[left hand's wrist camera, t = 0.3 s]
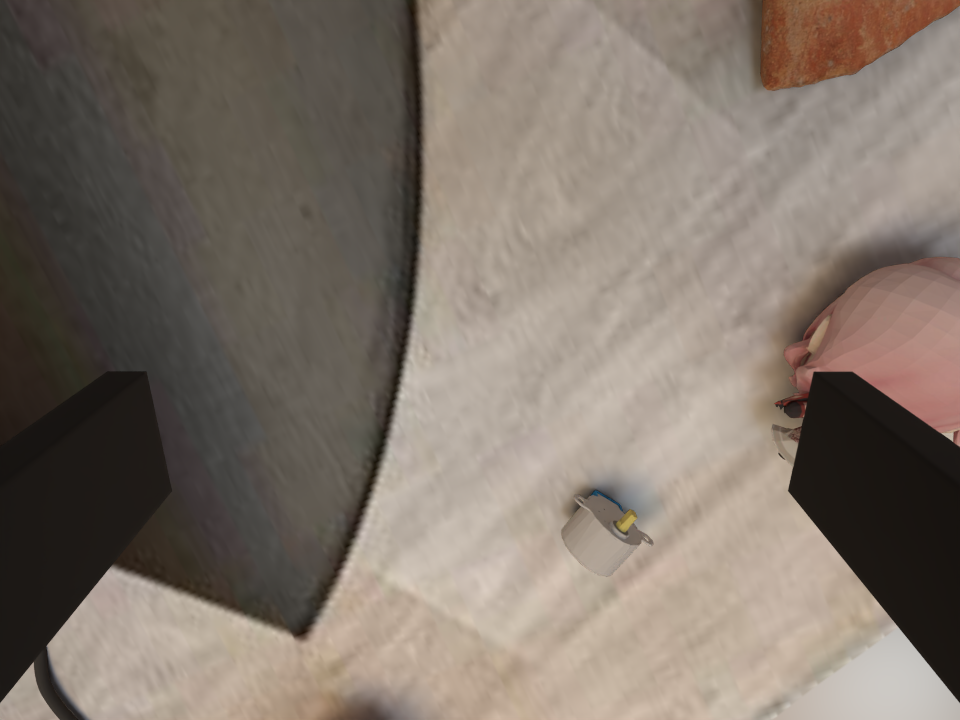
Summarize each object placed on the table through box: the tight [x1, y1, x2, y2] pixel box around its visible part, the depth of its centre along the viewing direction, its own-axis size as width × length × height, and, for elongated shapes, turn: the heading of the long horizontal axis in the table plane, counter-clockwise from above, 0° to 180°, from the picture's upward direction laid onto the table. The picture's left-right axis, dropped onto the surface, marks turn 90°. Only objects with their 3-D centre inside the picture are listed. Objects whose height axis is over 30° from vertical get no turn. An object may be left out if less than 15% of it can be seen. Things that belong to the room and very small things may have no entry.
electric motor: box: [561, 490, 654, 577], centre depth 44 cm, size 7×5×5 cm
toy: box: [771, 257, 960, 467], centre depth 37 cm, size 12×11×15 cm
